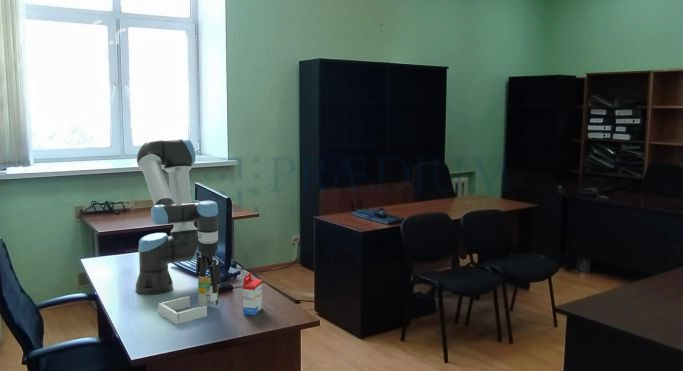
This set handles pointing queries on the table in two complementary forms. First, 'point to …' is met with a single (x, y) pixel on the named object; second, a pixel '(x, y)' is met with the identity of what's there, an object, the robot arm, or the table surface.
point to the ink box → (252, 295)
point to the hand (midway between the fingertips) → (208, 297)
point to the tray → (184, 316)
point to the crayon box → (205, 292)
